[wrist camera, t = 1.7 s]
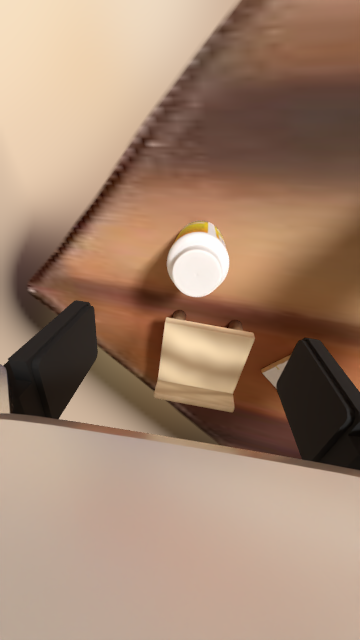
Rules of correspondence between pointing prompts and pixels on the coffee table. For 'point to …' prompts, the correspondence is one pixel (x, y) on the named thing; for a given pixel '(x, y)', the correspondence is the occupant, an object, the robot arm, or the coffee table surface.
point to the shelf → (201, 362)
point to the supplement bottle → (198, 259)
